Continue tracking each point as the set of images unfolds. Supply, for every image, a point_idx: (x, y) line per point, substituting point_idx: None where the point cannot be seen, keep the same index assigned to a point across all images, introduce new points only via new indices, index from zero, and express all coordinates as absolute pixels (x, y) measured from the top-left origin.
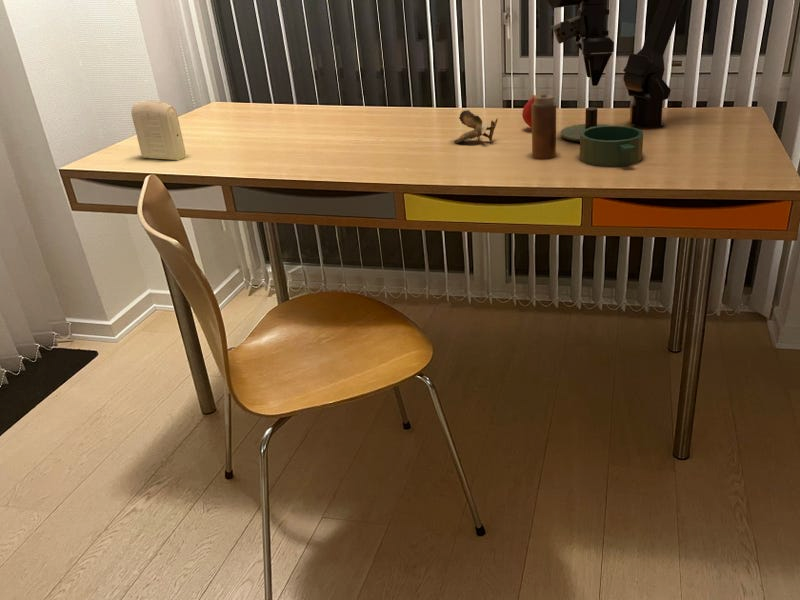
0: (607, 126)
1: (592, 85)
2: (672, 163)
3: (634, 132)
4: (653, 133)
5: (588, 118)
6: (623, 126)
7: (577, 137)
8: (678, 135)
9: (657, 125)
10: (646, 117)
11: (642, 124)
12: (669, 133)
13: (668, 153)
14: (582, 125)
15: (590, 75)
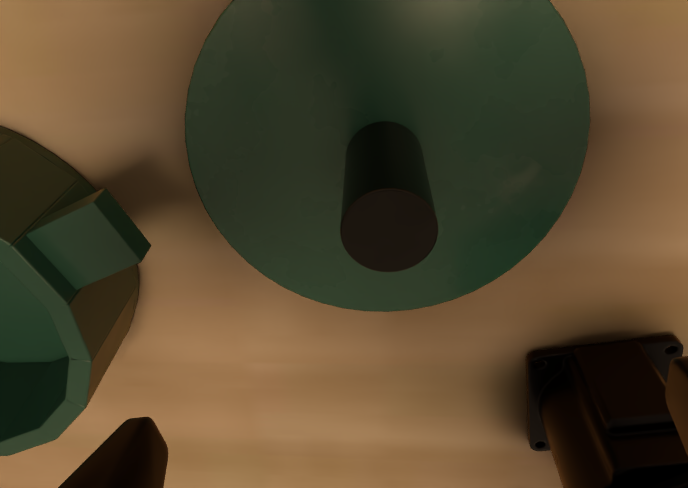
0: (50, 316)
1: (128, 419)
2: None
3: (43, 416)
4: (434, 409)
5: (346, 183)
6: (73, 388)
7: (225, 80)
8: (396, 476)
9: (530, 433)
10: (550, 429)
11: (547, 387)
12: (430, 455)
13: None
14: (555, 91)
15: (676, 403)
